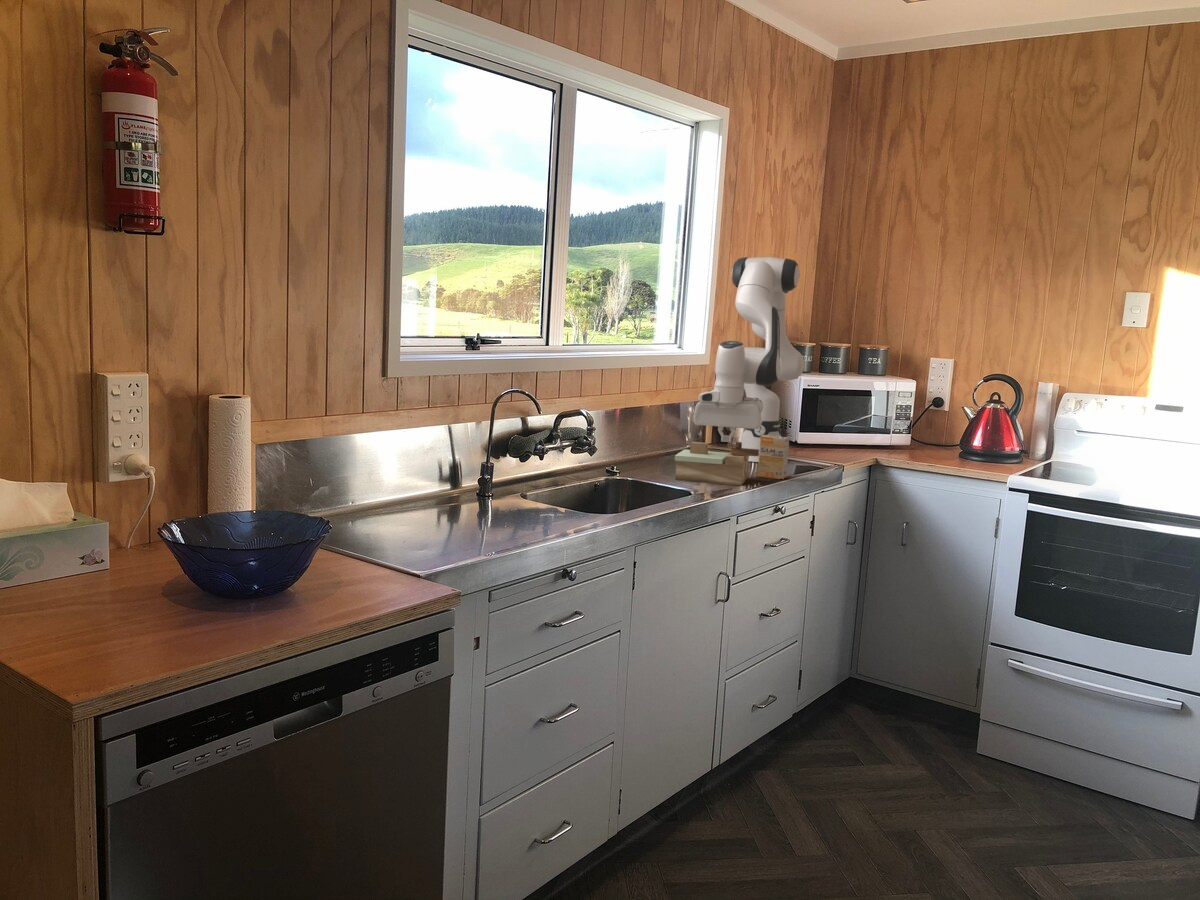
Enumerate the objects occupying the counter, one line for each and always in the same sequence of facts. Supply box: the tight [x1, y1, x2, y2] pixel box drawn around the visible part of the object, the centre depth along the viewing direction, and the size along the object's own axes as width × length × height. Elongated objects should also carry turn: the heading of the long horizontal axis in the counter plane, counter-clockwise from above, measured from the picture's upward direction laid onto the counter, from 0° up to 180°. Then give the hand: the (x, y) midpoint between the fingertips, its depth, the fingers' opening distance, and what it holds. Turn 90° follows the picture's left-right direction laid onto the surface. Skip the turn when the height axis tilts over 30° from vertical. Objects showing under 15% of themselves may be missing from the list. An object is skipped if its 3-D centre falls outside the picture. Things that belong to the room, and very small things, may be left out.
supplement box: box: [757, 435, 790, 480], centre depth 300 cm, size 8×5×13 cm, turn 62°
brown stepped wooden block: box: [730, 441, 759, 456], centre depth 288 cm, size 2×8×4 cm, turn 74°
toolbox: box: [674, 451, 749, 486], centre depth 294 cm, size 14×20×8 cm
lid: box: [674, 441, 730, 464], centre depth 294 cm, size 14×14×5 cm
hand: (726, 441), depth 289 cm, fingers closed
